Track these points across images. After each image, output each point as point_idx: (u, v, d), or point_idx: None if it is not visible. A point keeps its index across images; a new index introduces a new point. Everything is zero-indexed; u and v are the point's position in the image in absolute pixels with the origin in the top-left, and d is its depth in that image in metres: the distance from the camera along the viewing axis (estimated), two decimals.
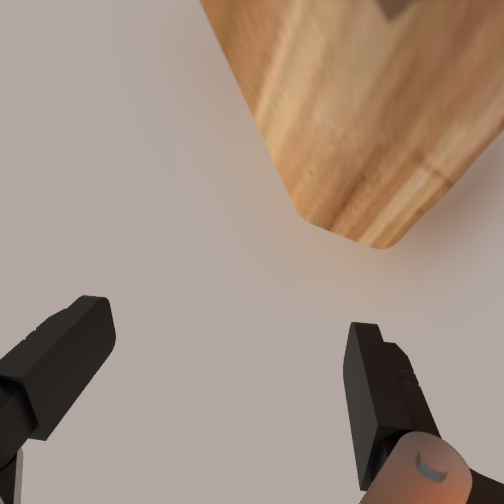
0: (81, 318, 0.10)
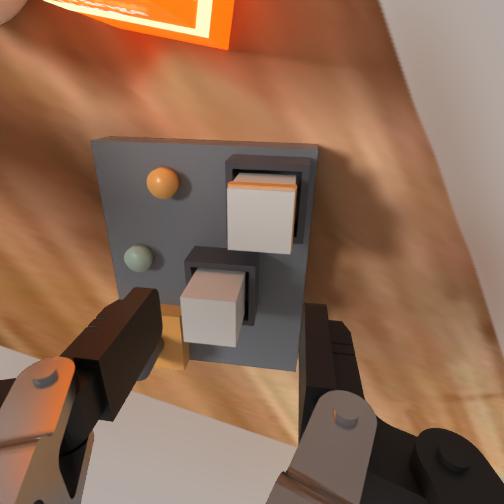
0: (139, 307, 0.10)
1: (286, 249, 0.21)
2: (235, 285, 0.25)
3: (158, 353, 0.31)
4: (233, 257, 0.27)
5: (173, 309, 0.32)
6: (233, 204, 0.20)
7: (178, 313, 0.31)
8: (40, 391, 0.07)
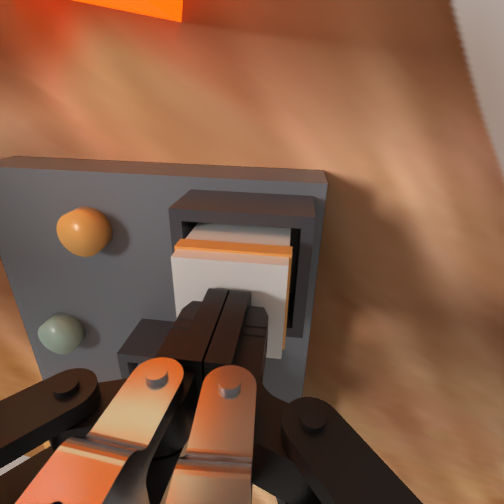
0: (221, 309, 0.10)
1: (275, 351, 0.12)
2: None
3: None
4: None
5: None
6: (183, 282, 0.12)
7: None
8: (158, 392, 0.07)
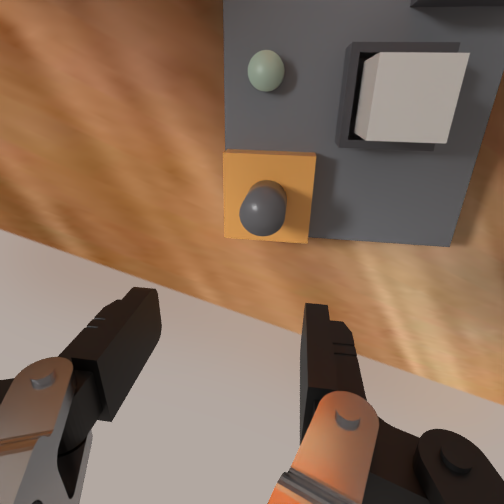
0: (138, 307, 0.10)
1: None
2: None
3: (286, 205, 0.23)
4: None
5: (302, 153, 0.24)
6: None
7: (311, 155, 0.23)
8: (38, 391, 0.07)
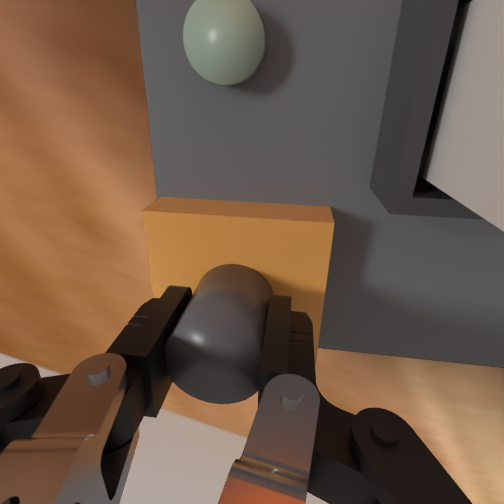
0: (177, 305, 0.10)
1: None
2: None
3: None
4: None
5: (304, 210, 0.12)
6: None
7: (323, 217, 0.11)
8: (96, 387, 0.07)
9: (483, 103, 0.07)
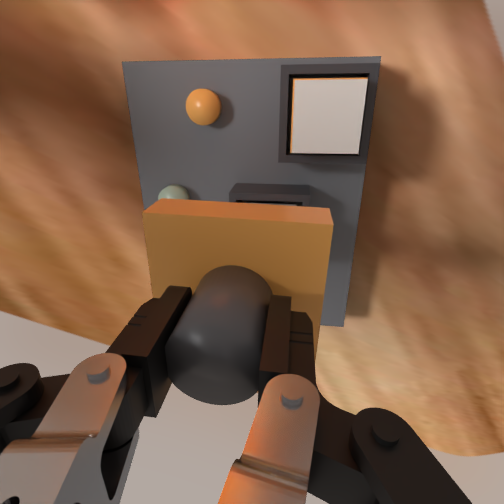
0: (177, 305, 0.10)
1: (354, 148, 0.20)
2: None
3: None
4: (282, 189, 0.24)
5: (303, 211, 0.12)
6: (300, 98, 0.19)
7: (322, 218, 0.11)
8: (96, 387, 0.07)
9: None
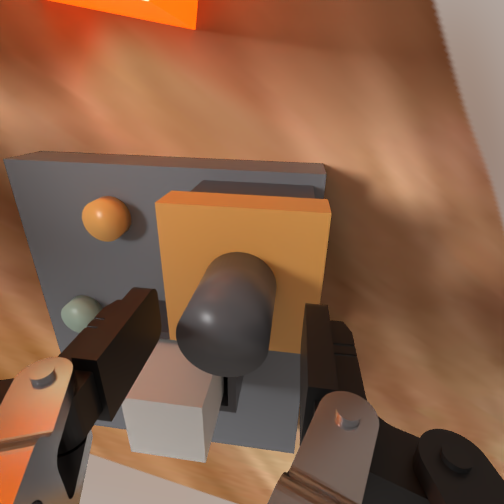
0: (138, 308, 0.10)
1: None
2: None
3: (273, 306, 0.12)
4: None
5: (303, 202, 0.13)
6: None
7: (321, 208, 0.12)
8: (38, 391, 0.07)
9: None
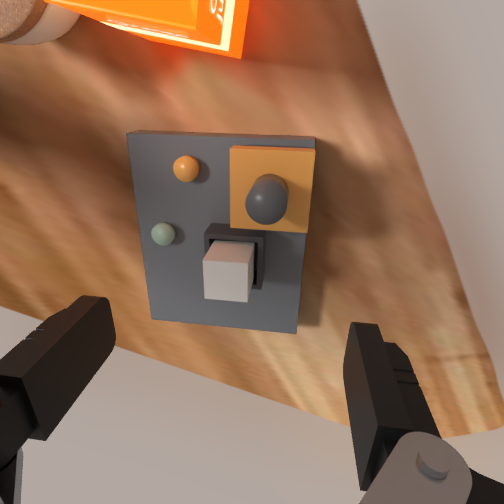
0: (81, 318, 0.10)
1: None
2: (247, 252, 0.30)
3: None
4: (244, 231, 0.32)
5: (302, 149, 0.26)
6: None
7: (311, 150, 0.25)
8: None
9: None
